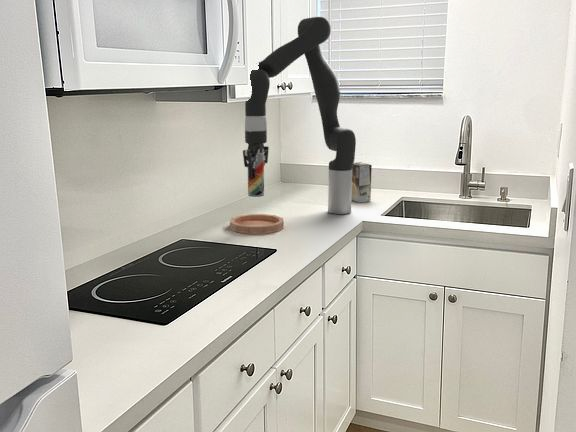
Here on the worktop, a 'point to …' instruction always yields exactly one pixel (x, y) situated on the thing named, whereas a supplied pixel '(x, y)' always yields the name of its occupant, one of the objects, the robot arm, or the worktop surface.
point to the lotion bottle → (257, 177)
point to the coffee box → (361, 182)
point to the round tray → (256, 224)
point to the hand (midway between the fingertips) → (256, 177)
